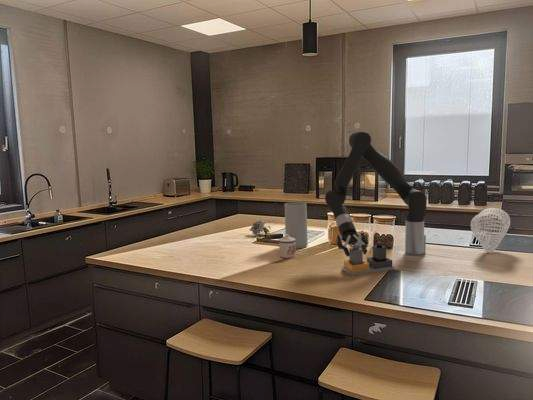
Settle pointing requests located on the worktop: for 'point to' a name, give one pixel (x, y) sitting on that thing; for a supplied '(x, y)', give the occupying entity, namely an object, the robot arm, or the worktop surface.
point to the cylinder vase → (296, 223)
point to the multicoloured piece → (370, 263)
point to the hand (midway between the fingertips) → (357, 254)
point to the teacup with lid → (287, 247)
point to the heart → (499, 238)
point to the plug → (356, 255)
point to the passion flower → (259, 228)
